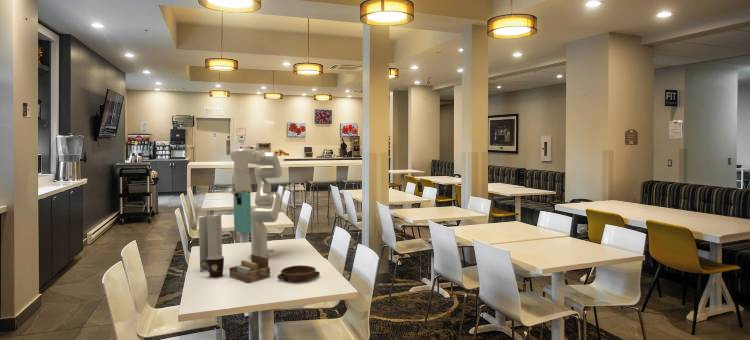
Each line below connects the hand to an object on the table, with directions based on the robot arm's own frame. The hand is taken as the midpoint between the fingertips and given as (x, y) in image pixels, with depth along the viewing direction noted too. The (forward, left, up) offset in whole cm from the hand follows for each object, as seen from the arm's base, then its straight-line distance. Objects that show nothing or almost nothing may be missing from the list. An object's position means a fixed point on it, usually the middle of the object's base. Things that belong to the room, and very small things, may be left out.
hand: (242, 203), depth 260 cm
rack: (+6, +15, -37) cm, 41 cm away
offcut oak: (+6, +15, -37) cm, 41 cm away
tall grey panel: (+10, -16, -37) cm, 42 cm away
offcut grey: (+10, +15, -37) cm, 41 cm away
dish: (-9, +37, -38) cm, 53 cm away
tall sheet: (0, 0, -16) cm, 16 cm away
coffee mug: (+17, -2, -37) cm, 41 cm away
